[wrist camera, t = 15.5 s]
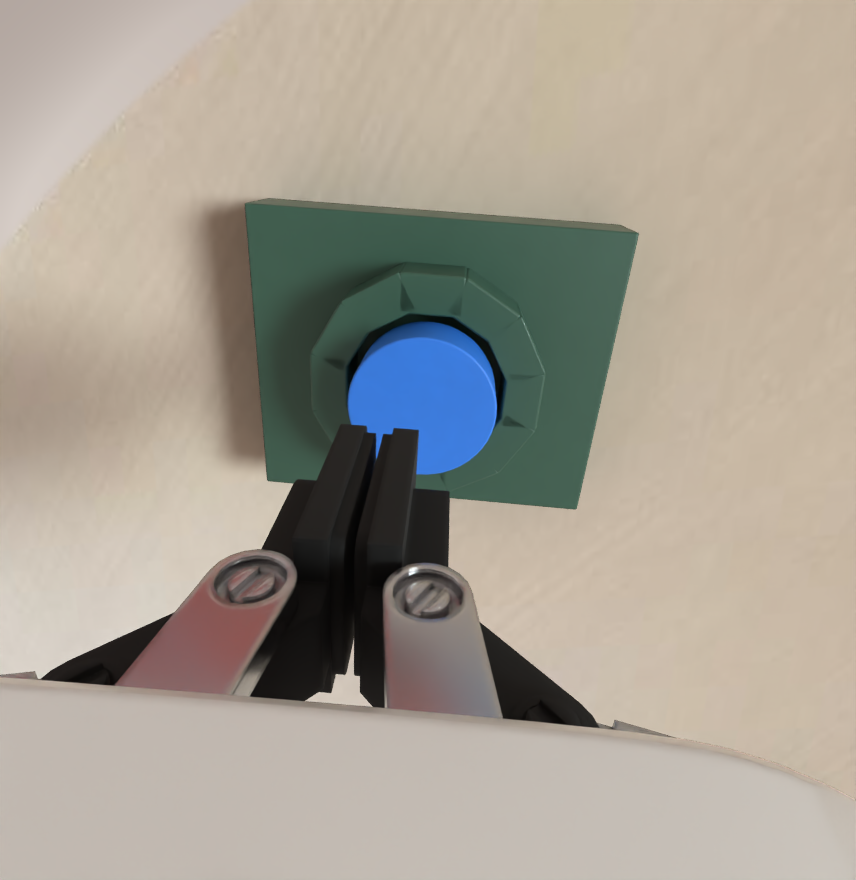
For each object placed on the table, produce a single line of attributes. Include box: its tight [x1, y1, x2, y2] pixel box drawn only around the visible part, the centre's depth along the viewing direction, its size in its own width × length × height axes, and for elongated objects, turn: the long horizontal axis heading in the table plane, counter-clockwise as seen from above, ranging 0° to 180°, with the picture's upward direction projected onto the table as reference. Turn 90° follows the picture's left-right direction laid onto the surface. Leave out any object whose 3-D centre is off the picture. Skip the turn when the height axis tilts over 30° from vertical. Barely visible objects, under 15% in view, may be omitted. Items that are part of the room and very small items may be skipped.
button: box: [347, 322, 497, 475], centre depth 17 cm, size 4×4×2 cm
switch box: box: [245, 198, 639, 509], centre depth 19 cm, size 12×10×4 cm
